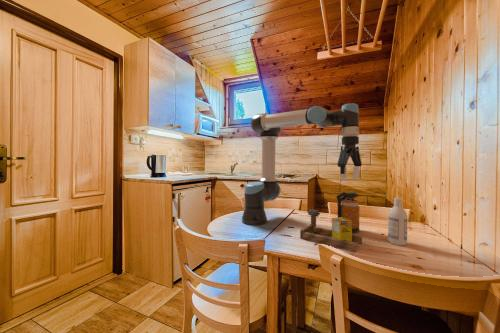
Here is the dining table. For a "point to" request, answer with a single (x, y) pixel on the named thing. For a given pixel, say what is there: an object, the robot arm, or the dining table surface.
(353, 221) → the canister
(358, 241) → the bay
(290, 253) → the dining table surface
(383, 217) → the dining table surface
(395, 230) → the bath foam
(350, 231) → the supplement box
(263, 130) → the robot arm
